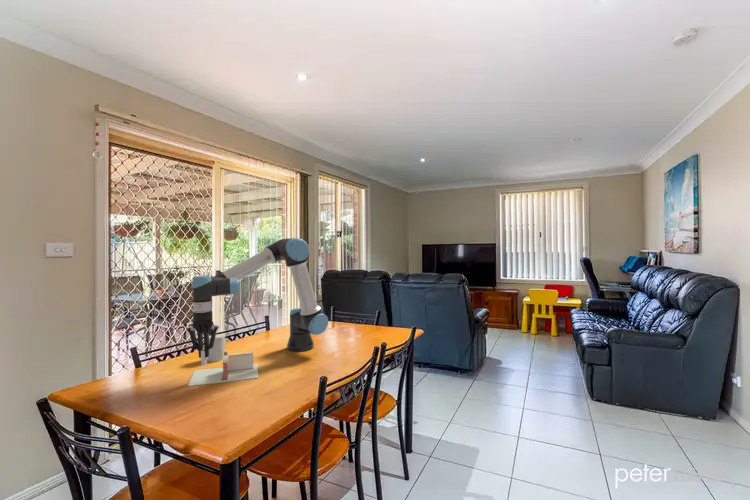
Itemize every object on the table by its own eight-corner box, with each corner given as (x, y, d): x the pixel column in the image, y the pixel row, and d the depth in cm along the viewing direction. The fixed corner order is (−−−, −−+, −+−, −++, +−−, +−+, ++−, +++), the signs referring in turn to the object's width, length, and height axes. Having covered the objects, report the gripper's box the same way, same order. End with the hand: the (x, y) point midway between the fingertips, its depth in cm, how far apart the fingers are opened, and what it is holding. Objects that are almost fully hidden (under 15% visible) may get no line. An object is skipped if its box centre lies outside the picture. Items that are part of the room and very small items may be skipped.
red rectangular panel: (223, 371, 162) (223, 355, 162) (228, 370, 163) (228, 355, 163) (222, 379, 152) (222, 362, 152) (227, 378, 153) (227, 362, 153)
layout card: (257, 364, 174) (257, 363, 174) (258, 378, 155) (258, 377, 155) (194, 371, 165) (194, 370, 165) (187, 386, 146) (187, 385, 146)
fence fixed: (253, 367, 169) (253, 349, 169) (253, 369, 167) (253, 350, 167) (224, 371, 164) (224, 352, 164) (224, 372, 163) (224, 353, 163)
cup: (220, 361, 178) (220, 338, 178) (204, 361, 179) (204, 338, 179) (227, 356, 187) (227, 334, 186) (212, 356, 187) (212, 334, 187)
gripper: (183, 313, 149) (184, 368, 149) (215, 312, 150) (216, 366, 151) (190, 310, 156) (192, 362, 157) (220, 308, 158) (222, 361, 158)
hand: (204, 364), depth 154 cm, fingers closed
